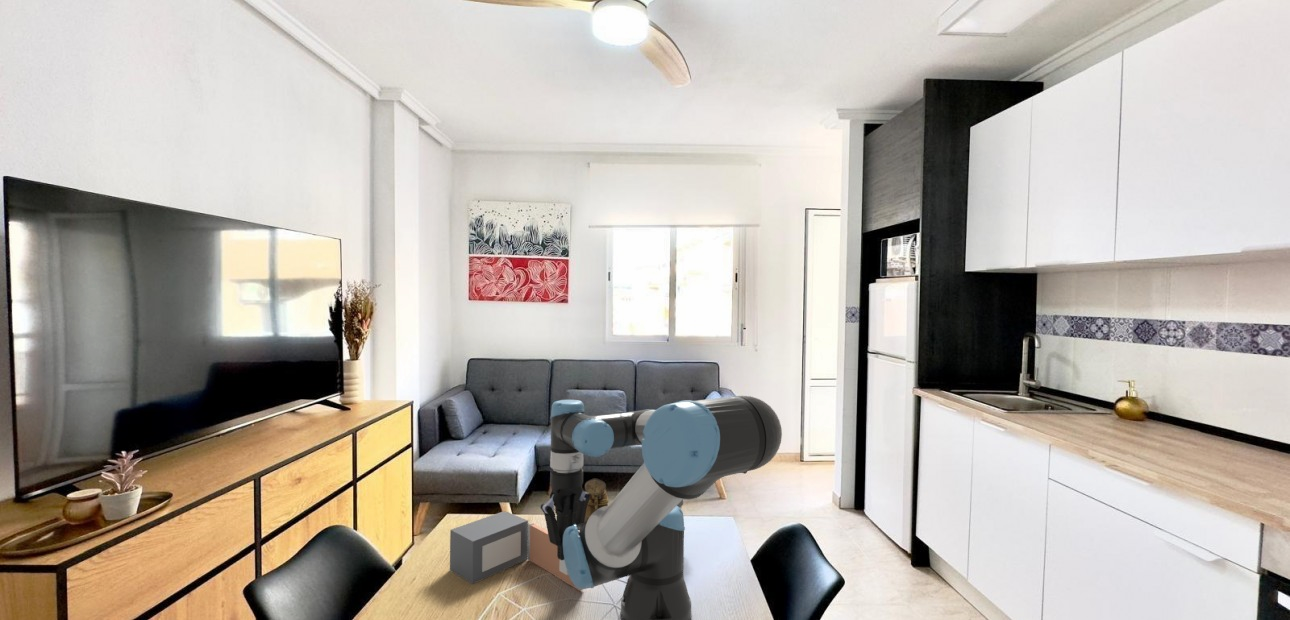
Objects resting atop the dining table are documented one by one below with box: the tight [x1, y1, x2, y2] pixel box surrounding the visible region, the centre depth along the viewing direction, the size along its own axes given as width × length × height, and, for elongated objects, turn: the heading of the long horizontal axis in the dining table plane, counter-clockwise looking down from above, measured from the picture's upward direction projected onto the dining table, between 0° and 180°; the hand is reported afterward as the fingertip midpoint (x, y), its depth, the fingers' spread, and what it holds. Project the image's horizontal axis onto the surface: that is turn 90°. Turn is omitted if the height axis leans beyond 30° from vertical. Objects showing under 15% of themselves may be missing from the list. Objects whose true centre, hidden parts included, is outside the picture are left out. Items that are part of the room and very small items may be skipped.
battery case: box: [449, 510, 529, 585], centre depth 129 cm, size 10×16×10 cm, turn 141°
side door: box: [527, 522, 584, 592], centre depth 124 cm, size 2×22×9 cm, turn 46°
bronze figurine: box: [584, 477, 609, 522], centre depth 149 cm, size 9×14×18 cm, turn 2°
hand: (565, 571), depth 116 cm, fingers closed
